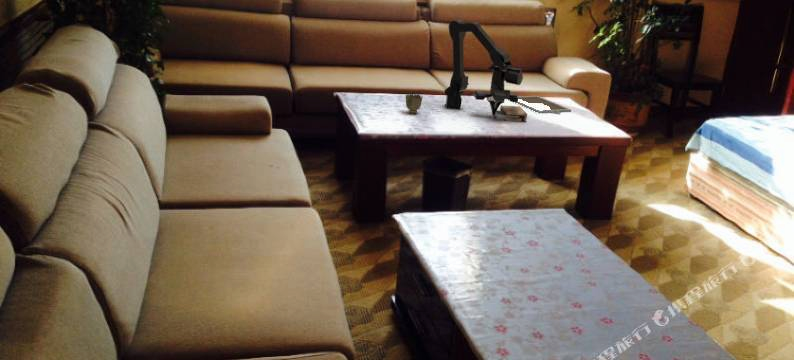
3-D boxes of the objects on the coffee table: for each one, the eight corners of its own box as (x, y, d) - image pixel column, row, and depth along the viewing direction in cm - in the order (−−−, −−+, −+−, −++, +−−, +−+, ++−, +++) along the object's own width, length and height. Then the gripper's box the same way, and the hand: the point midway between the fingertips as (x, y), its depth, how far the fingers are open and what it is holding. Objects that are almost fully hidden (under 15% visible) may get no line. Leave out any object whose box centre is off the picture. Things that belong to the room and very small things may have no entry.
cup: (423, 115, 284) (425, 97, 282) (408, 115, 282) (409, 97, 279) (417, 110, 291) (418, 93, 288) (401, 111, 288) (403, 93, 285)
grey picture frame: (537, 95, 333) (575, 111, 308) (536, 98, 333) (574, 114, 308) (506, 97, 325) (542, 113, 300) (505, 100, 325) (542, 116, 300)
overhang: (506, 121, 285) (507, 112, 284) (499, 113, 297) (500, 105, 296) (526, 122, 286) (527, 114, 284) (518, 114, 298) (519, 106, 297)
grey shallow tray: (496, 119, 287) (497, 114, 286) (493, 114, 295) (493, 110, 294) (518, 120, 288) (519, 116, 287) (514, 115, 295) (515, 111, 295)
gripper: (480, 83, 276) (476, 118, 282) (523, 86, 278) (517, 121, 284) (475, 78, 287) (471, 112, 292) (517, 80, 288) (512, 114, 294)
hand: (493, 115), depth 290 cm, fingers closed
